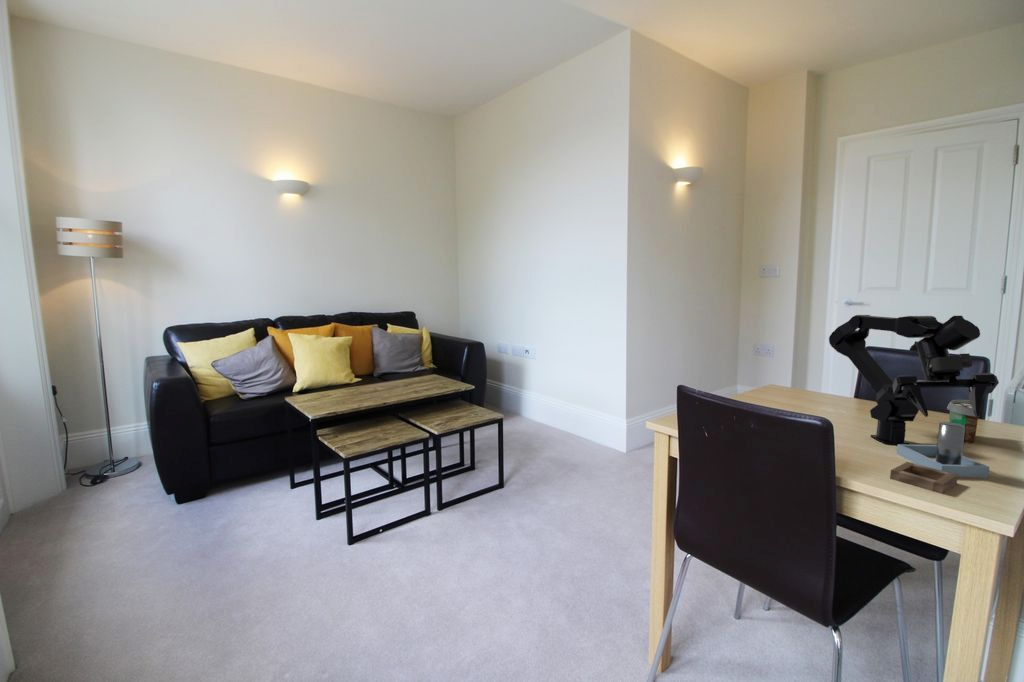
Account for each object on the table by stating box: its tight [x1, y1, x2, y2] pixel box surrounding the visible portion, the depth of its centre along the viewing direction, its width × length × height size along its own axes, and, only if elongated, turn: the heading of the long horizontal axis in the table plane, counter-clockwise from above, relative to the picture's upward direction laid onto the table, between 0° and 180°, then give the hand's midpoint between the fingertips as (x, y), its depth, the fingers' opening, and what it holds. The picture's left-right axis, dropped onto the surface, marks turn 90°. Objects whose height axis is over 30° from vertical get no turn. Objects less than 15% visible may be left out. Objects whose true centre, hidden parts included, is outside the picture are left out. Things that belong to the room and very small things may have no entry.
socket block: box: [889, 461, 959, 495], centre depth 107 cm, size 9×9×3 cm
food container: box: [946, 399, 979, 444], centre depth 138 cm, size 12×6×10 cm, turn 141°
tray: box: [896, 444, 990, 479], centre depth 116 cm, size 14×10×4 cm
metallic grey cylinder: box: [935, 421, 965, 465], centre depth 112 cm, size 4×4×11 cm
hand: (951, 416), depth 113 cm, fingers open, 9 cm apart
